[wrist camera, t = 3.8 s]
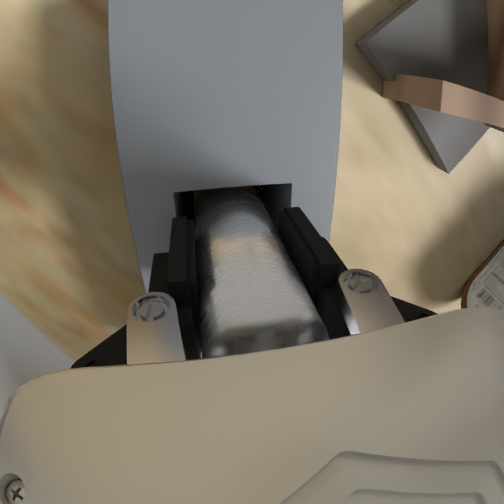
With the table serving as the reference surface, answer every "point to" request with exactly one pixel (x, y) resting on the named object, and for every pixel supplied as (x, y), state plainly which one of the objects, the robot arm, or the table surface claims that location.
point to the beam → (225, 106)
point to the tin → (486, 283)
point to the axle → (247, 278)
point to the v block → (443, 70)
